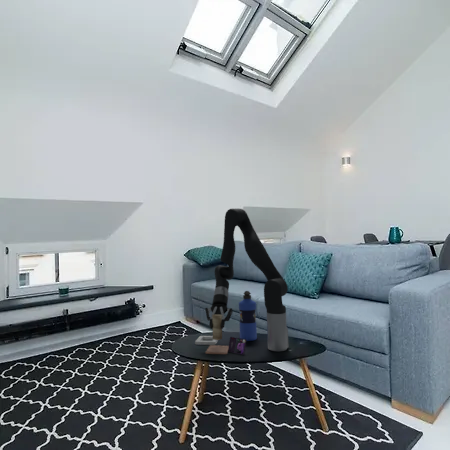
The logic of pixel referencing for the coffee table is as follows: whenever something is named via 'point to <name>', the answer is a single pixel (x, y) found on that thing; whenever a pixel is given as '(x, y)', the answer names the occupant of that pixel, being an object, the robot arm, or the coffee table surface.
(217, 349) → the terracotta tile
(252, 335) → the water bottle
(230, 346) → the purple toy figure
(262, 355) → the coffee table surface
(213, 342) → the pocket block
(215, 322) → the birch peg
